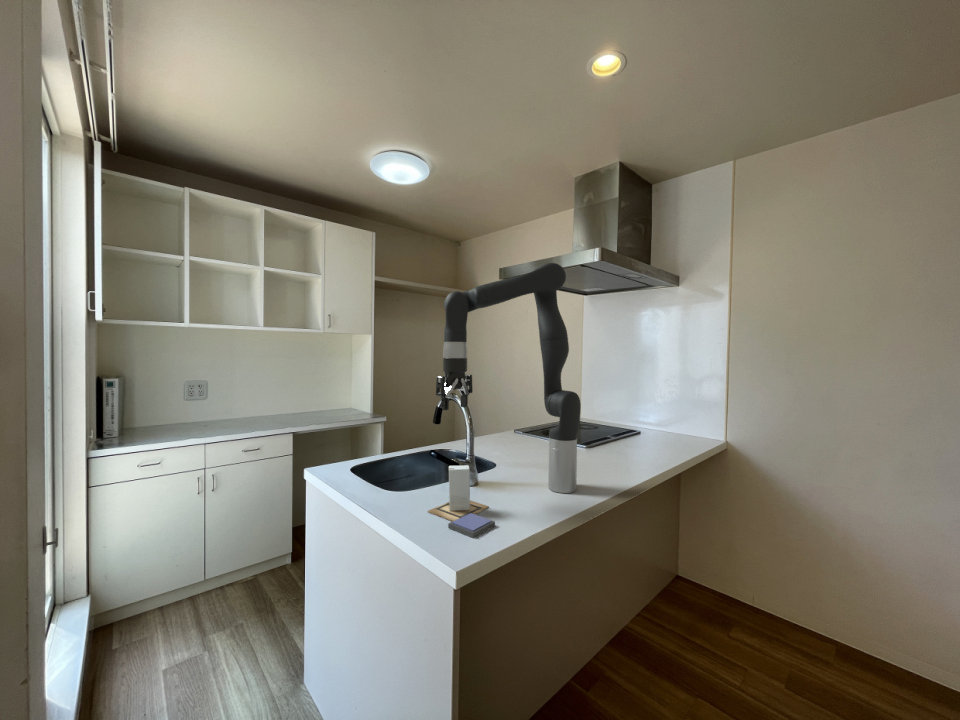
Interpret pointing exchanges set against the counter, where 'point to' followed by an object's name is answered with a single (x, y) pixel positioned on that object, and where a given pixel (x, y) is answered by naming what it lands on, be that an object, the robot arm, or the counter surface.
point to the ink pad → (471, 525)
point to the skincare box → (459, 488)
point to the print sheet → (454, 515)
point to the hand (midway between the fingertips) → (454, 408)
